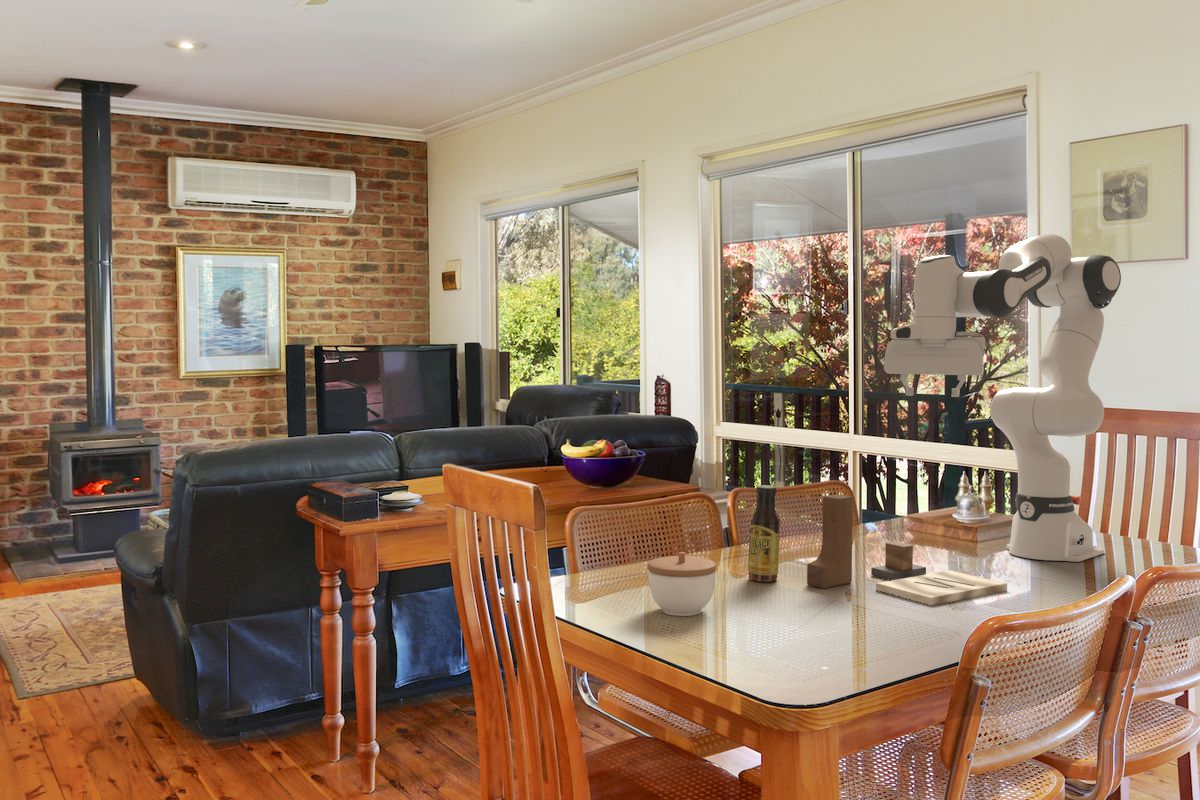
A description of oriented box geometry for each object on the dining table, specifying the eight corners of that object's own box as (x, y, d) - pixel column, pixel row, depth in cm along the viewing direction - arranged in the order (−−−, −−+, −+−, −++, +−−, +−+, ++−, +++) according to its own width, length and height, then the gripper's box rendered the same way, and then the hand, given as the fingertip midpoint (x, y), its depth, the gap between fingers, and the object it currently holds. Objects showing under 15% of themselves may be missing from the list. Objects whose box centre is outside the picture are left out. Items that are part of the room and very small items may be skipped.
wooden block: (823, 589, 211) (823, 500, 210) (806, 585, 214) (806, 498, 213) (852, 583, 216) (853, 496, 215) (835, 579, 220) (836, 494, 219)
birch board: (950, 577, 221) (950, 569, 221) (1007, 590, 209) (1007, 582, 209) (875, 590, 210) (876, 582, 209) (931, 605, 198) (931, 597, 198)
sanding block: (904, 571, 228) (904, 539, 228) (925, 576, 223) (926, 544, 222) (871, 576, 223) (871, 544, 222) (892, 582, 218) (893, 549, 217)
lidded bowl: (647, 602, 201) (647, 545, 200) (713, 602, 200) (713, 545, 200) (648, 620, 188) (648, 559, 188) (718, 620, 188) (718, 559, 187)
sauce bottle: (742, 580, 219) (742, 486, 218) (759, 575, 224) (759, 483, 222) (768, 585, 215) (769, 489, 213) (785, 580, 219) (786, 485, 218)
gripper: (987, 331, 222) (985, 397, 222) (888, 331, 230) (886, 394, 231) (984, 331, 216) (982, 398, 216) (883, 330, 224) (881, 395, 225)
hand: (932, 396), depth 224 cm, fingers open, 8 cm apart
